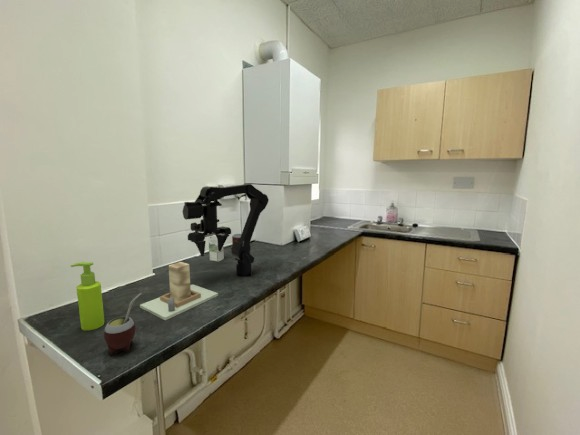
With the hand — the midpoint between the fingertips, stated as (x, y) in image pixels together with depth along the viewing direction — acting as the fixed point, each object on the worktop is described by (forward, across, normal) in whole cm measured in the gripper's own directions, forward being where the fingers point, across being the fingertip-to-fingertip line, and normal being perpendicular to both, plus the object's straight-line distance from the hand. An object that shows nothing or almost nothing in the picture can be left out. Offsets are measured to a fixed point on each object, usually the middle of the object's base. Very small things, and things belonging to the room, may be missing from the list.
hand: (211, 253), depth 117 cm
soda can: (+13, -35, -18) cm, 42 cm away
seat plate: (+13, +18, +4) cm, 23 cm away
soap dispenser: (+13, +44, -4) cm, 46 cm away
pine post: (+12, +18, +4) cm, 22 cm away
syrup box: (+13, -23, -23) cm, 35 cm away
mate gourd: (+13, +44, +16) cm, 48 cm away
